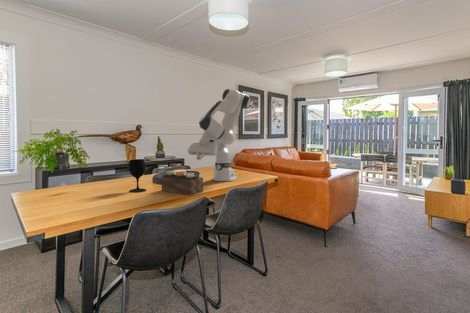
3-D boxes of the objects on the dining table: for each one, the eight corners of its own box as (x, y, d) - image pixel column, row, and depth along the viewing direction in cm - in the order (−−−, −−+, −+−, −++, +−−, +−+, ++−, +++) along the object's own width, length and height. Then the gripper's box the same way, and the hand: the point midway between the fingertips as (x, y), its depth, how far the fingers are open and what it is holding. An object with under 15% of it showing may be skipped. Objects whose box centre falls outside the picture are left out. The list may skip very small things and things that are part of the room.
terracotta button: (179, 174, 169) (179, 171, 169) (185, 175, 167) (185, 172, 167) (174, 176, 165) (174, 172, 165) (180, 176, 163) (180, 173, 162)
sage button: (170, 173, 173) (170, 170, 173) (176, 174, 171) (176, 171, 171) (164, 174, 169) (164, 171, 169) (170, 175, 166) (170, 172, 166)
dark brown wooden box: (174, 187, 180) (174, 173, 179) (202, 191, 168) (202, 176, 167) (161, 190, 169) (161, 175, 168) (191, 195, 158) (191, 179, 157)
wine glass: (135, 193, 161) (134, 161, 159) (125, 191, 167) (125, 160, 166) (149, 190, 169) (149, 159, 168) (140, 188, 176) (139, 158, 174)
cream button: (189, 176, 166) (189, 172, 165) (195, 176, 163) (195, 173, 163) (184, 177, 161) (184, 173, 161) (190, 177, 159) (190, 174, 159)
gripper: (190, 140, 180) (183, 155, 172) (217, 140, 173) (211, 156, 165) (193, 146, 185) (186, 161, 177) (220, 147, 178) (214, 162, 170)
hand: (198, 159), depth 171 cm, fingers closed
